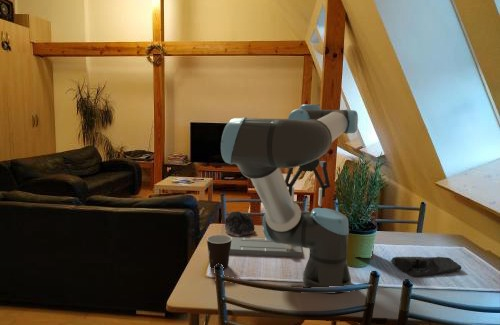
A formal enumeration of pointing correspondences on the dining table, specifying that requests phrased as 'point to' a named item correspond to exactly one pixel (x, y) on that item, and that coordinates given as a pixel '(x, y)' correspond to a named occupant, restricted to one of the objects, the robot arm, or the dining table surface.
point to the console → (262, 247)
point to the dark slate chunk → (425, 265)
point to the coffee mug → (219, 250)
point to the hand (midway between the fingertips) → (305, 204)
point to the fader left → (288, 247)
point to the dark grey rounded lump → (239, 224)
